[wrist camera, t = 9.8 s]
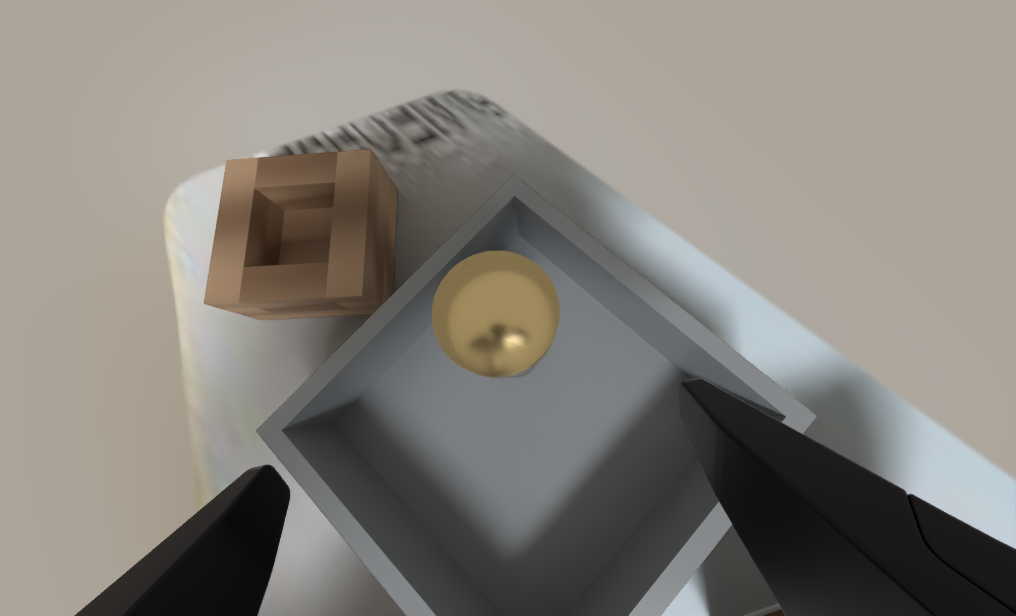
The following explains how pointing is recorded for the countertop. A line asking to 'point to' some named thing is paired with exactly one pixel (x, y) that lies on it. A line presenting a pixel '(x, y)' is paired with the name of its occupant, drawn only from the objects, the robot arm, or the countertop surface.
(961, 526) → the robot arm
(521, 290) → the pin
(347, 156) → the socket block
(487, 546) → the tray
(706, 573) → the countertop surface
